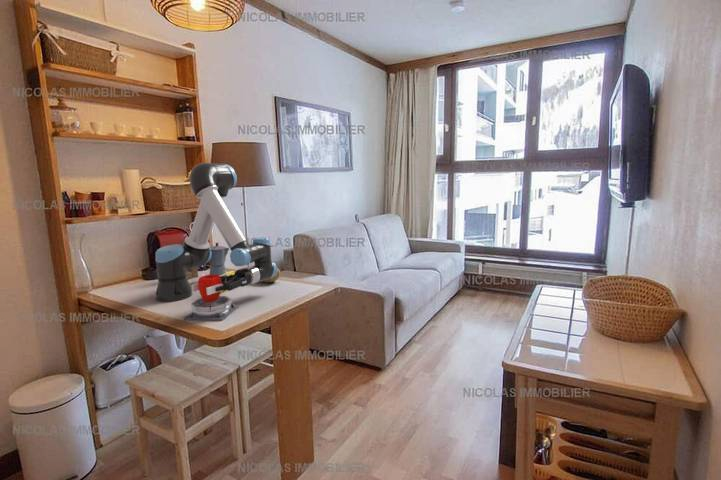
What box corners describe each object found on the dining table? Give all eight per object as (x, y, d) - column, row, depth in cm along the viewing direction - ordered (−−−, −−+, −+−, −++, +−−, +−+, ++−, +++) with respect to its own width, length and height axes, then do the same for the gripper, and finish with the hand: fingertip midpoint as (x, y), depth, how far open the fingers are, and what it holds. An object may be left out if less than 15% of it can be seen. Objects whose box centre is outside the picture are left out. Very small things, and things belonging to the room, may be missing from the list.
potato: (263, 278, 201) (262, 264, 199) (285, 280, 195) (284, 266, 193) (251, 283, 192) (250, 268, 191) (273, 285, 186) (272, 270, 185)
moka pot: (231, 280, 198) (228, 243, 195) (200, 282, 195) (196, 245, 192) (233, 276, 207) (230, 240, 204) (203, 278, 204) (200, 242, 201)
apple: (219, 304, 144) (217, 277, 142) (196, 305, 143) (193, 278, 142) (226, 297, 153) (223, 271, 151) (204, 298, 152) (201, 272, 150)
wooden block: (198, 276, 208) (195, 245, 205) (180, 281, 199) (176, 248, 196) (194, 275, 210) (191, 244, 207) (176, 280, 201) (172, 247, 198)
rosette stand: (184, 320, 142) (183, 307, 141) (204, 306, 157) (203, 295, 156) (222, 320, 141) (221, 307, 140) (238, 307, 156) (237, 295, 155)
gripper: (264, 288, 157) (218, 303, 138) (231, 281, 168) (184, 295, 150) (263, 270, 155) (216, 284, 137) (230, 265, 167) (182, 277, 148)
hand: (199, 289), depth 143 cm, fingers closed on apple, 9 cm apart
